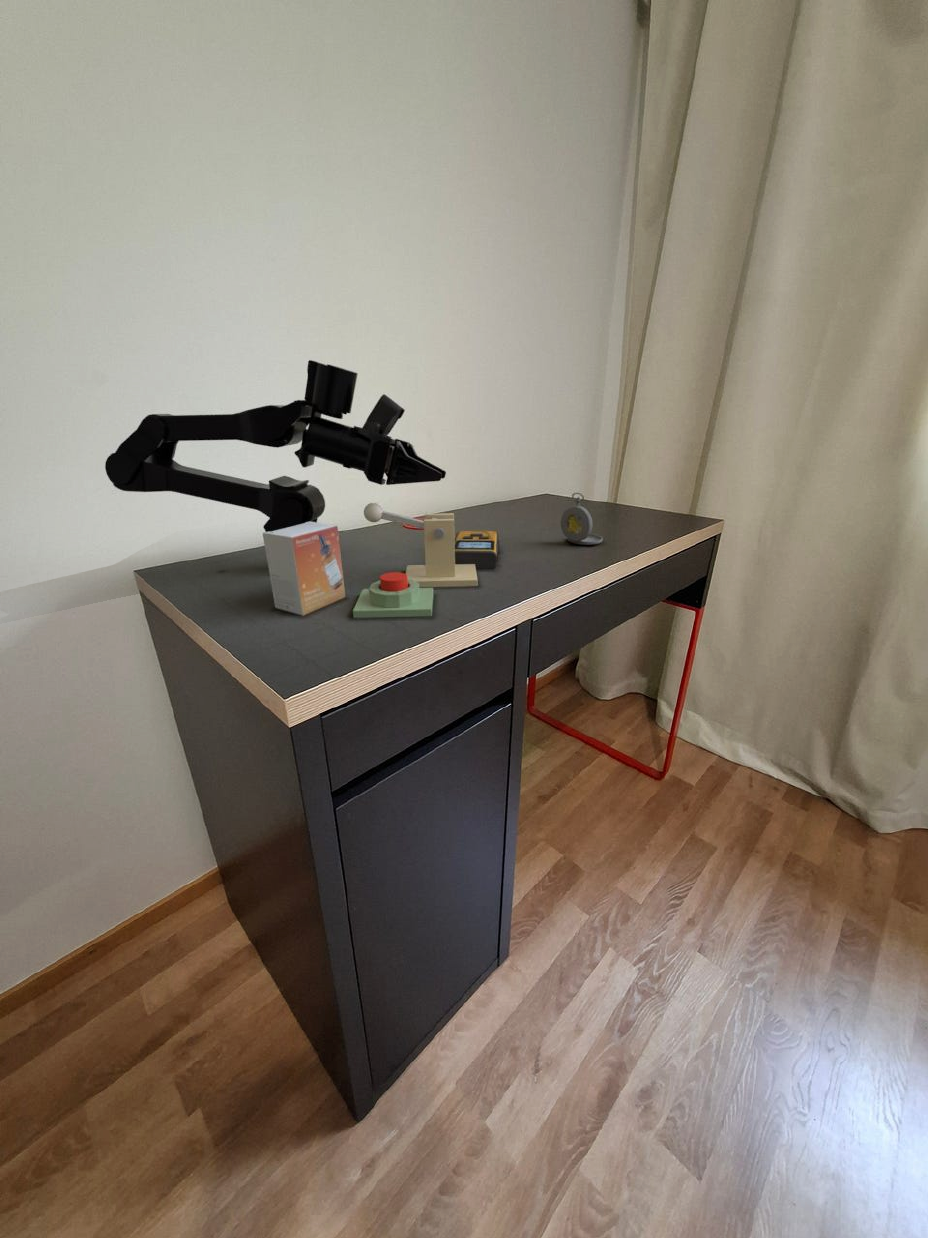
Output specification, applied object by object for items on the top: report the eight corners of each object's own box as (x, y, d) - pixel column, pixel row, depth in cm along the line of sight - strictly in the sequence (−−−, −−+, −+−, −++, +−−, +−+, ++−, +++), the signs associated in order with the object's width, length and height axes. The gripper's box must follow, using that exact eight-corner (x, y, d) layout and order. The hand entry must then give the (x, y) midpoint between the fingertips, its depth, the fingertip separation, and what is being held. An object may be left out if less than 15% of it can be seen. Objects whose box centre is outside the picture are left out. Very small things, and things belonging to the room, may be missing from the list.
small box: (302, 617, 63) (290, 537, 59) (274, 609, 66) (260, 532, 62) (347, 598, 69) (338, 524, 65) (319, 591, 72) (309, 520, 68)
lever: (360, 521, 71) (364, 502, 70) (363, 517, 73) (367, 499, 72) (446, 542, 73) (450, 524, 71) (446, 537, 75) (450, 520, 74)
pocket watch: (601, 538, 98) (607, 487, 94) (602, 550, 91) (608, 495, 87) (560, 537, 100) (563, 486, 96) (558, 547, 92) (561, 494, 88)
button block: (353, 619, 62) (351, 597, 61) (363, 597, 70) (361, 577, 68) (431, 617, 63) (430, 595, 61) (433, 595, 70) (432, 575, 69)
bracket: (403, 588, 72) (399, 523, 69) (407, 572, 80) (404, 512, 76) (477, 587, 73) (477, 522, 69) (474, 570, 80) (474, 510, 76)
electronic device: (499, 546, 94) (499, 529, 93) (498, 571, 80) (499, 550, 79) (456, 546, 95) (455, 528, 94) (447, 570, 81) (447, 550, 79)
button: (379, 593, 63) (378, 581, 63) (382, 584, 67) (381, 572, 66) (407, 593, 63) (406, 580, 63) (409, 584, 67) (408, 571, 66)
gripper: (338, 379, 62) (455, 416, 63) (369, 396, 80) (460, 425, 81) (321, 466, 66) (432, 501, 67) (354, 464, 84) (442, 491, 85)
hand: (443, 476), depth 75 cm, fingers open, 9 cm apart
